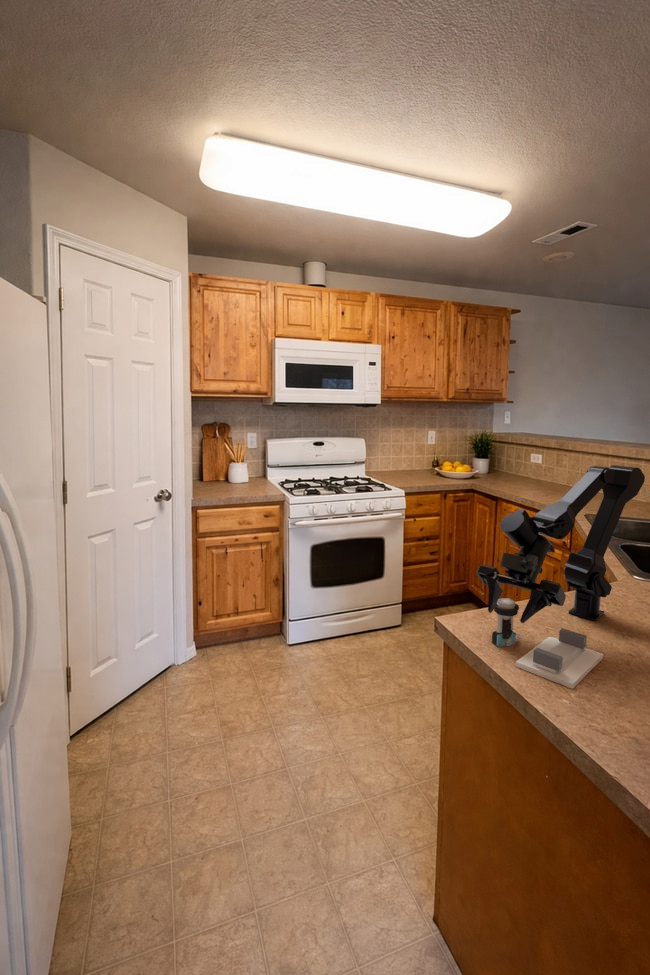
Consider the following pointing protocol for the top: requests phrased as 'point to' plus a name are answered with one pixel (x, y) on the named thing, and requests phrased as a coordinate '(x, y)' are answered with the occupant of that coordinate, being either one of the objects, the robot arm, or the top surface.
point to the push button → (505, 622)
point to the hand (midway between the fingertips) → (505, 617)
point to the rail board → (561, 658)
